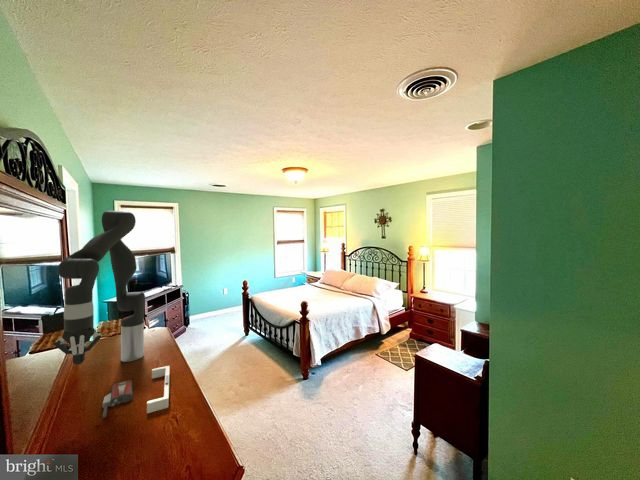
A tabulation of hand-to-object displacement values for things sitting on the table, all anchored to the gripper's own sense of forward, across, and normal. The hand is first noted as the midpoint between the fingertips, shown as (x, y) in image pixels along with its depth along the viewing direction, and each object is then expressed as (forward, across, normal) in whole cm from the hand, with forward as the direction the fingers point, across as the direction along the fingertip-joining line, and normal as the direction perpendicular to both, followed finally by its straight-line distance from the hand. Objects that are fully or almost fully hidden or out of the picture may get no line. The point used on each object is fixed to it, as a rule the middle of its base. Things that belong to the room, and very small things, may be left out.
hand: (78, 363), depth 89 cm
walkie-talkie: (+18, -11, 0) cm, 21 cm away
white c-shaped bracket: (+17, -24, 0) cm, 29 cm away
